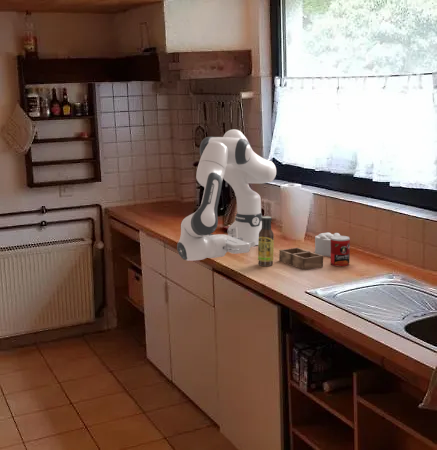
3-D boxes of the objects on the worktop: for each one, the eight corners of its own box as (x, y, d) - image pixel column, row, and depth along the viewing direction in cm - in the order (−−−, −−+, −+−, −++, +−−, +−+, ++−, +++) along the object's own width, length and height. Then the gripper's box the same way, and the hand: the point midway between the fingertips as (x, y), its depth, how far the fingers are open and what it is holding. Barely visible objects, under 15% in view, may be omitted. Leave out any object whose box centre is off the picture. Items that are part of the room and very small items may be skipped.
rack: (279, 260, 299) (279, 250, 298) (297, 257, 303) (297, 247, 302) (304, 269, 283) (304, 258, 282) (322, 266, 287) (323, 255, 287)
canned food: (334, 266, 287) (334, 240, 285) (327, 262, 295) (327, 236, 292) (352, 265, 288) (352, 238, 286) (345, 261, 296) (345, 235, 294)
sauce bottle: (255, 266, 291) (255, 217, 287) (261, 262, 297) (261, 215, 293) (270, 267, 288) (270, 218, 284) (276, 263, 294) (275, 216, 290)
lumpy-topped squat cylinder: (330, 249, 318) (330, 230, 317) (349, 254, 307) (350, 235, 305) (311, 252, 313) (311, 232, 312) (330, 258, 302) (330, 237, 300)
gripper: (230, 242, 271) (261, 238, 277) (205, 233, 288) (235, 229, 295) (230, 259, 272) (261, 254, 278) (205, 248, 290) (235, 244, 296)
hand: (248, 241), depth 287 cm, fingers open, 8 cm apart
